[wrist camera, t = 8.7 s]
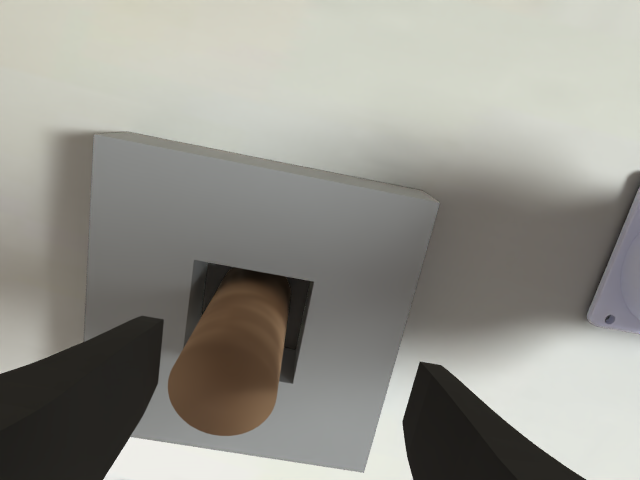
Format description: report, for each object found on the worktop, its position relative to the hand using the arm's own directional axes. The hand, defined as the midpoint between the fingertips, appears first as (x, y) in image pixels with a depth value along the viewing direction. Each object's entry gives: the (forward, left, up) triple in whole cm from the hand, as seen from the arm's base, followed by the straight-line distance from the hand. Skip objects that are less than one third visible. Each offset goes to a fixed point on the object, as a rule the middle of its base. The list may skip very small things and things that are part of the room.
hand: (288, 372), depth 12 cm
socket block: (+2, +3, -10) cm, 10 cm away
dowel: (+2, +2, -10) cm, 10 cm away
